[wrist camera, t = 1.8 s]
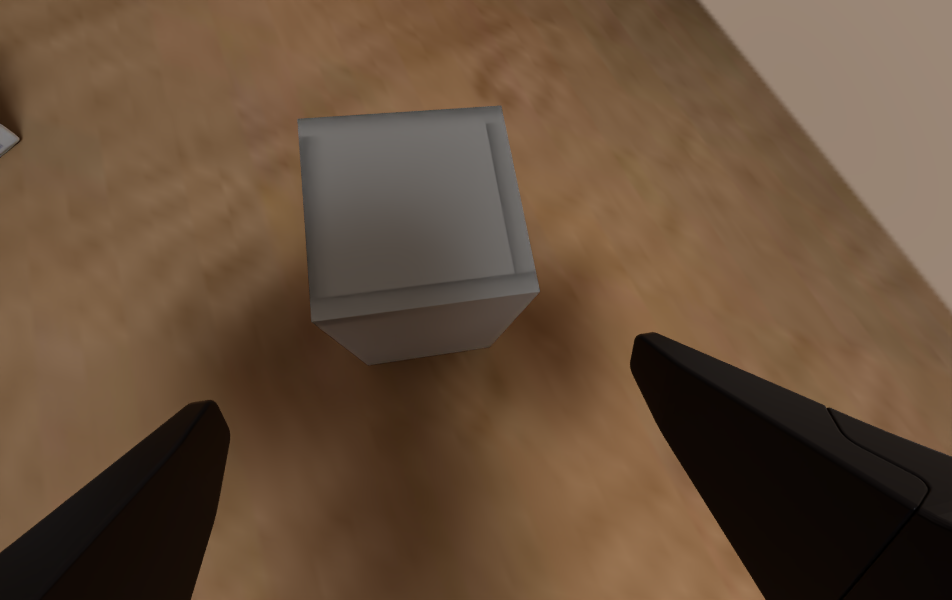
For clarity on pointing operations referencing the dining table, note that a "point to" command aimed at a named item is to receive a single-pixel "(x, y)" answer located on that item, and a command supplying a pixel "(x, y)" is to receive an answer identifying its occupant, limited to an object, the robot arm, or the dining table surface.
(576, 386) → the dining table surface
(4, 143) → the medicine box
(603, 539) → the dining table surface
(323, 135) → the grey bordered box
